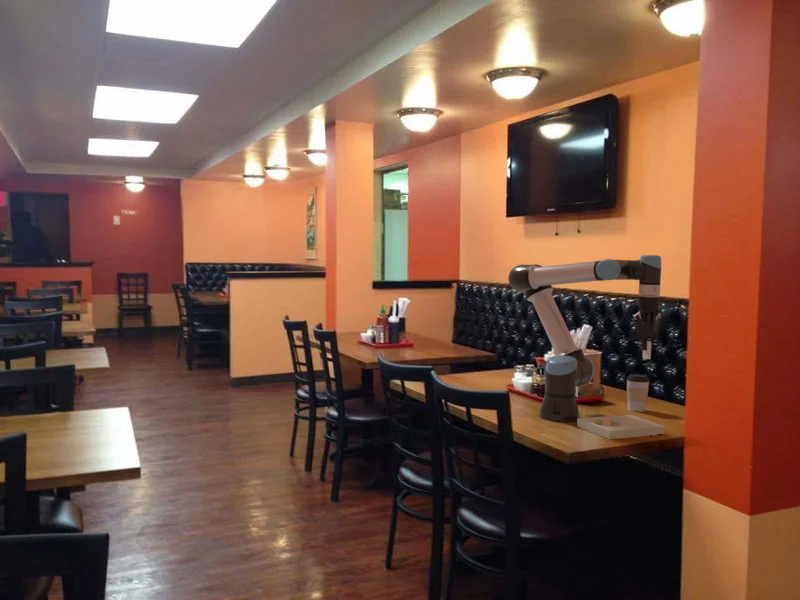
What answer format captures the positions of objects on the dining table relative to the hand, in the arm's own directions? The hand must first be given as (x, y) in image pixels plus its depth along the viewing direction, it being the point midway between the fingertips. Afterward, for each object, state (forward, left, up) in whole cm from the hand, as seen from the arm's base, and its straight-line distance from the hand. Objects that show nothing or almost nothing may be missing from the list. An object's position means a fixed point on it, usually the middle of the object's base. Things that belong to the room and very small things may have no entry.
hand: (646, 358), depth 247 cm
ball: (+5, -21, -23) cm, 32 cm away
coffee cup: (-20, +15, -25) cm, 36 cm away
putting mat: (+5, -15, -25) cm, 30 cm away
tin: (-38, +5, -25) cm, 46 cm away
